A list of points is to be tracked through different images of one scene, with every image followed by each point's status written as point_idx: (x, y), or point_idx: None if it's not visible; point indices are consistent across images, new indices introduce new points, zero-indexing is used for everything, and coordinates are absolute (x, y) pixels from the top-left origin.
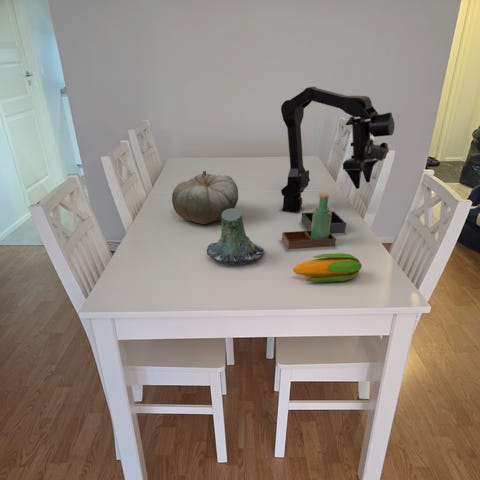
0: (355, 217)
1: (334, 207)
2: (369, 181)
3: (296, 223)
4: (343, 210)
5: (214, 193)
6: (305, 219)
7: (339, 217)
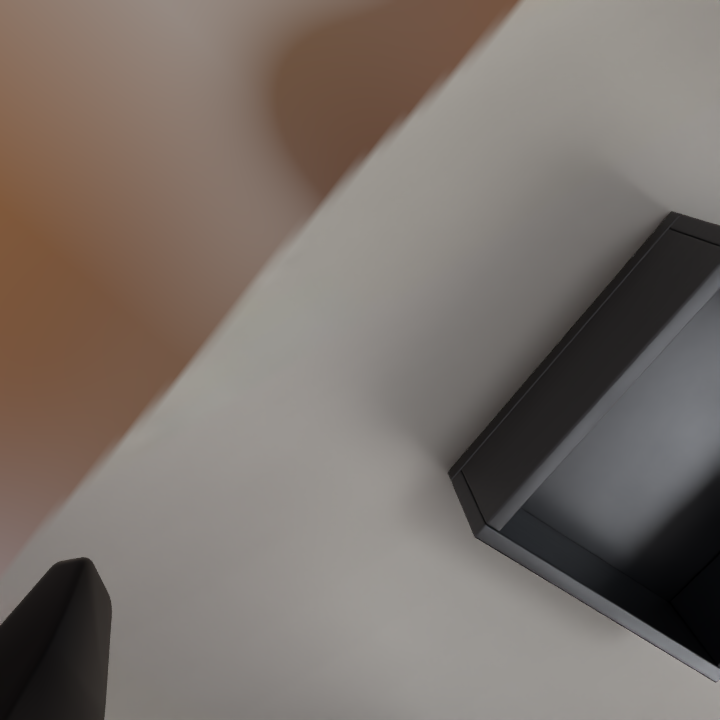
0: (167, 395)
1: None
2: (70, 567)
3: None
4: None
5: None
6: None
7: (620, 389)
